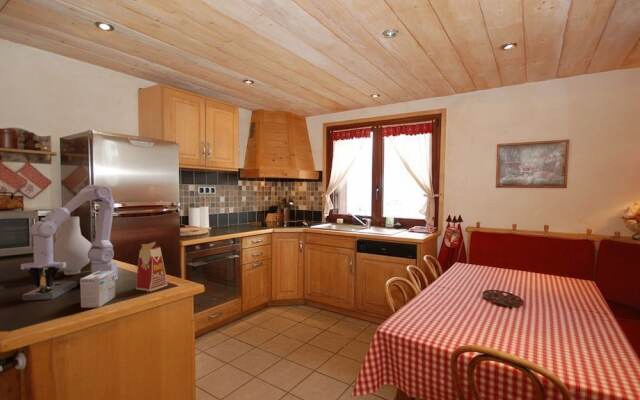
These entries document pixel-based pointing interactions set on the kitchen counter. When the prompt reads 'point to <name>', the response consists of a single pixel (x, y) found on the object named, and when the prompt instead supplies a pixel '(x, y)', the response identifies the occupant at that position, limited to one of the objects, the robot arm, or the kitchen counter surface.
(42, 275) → the brass nipple
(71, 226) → the vase
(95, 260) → the robot arm
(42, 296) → the manifold plate
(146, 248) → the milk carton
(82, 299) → the light bulb box
